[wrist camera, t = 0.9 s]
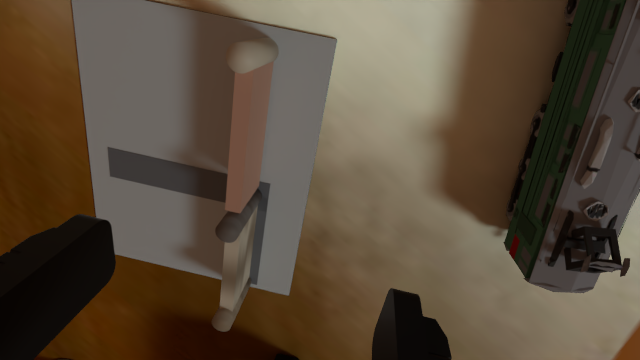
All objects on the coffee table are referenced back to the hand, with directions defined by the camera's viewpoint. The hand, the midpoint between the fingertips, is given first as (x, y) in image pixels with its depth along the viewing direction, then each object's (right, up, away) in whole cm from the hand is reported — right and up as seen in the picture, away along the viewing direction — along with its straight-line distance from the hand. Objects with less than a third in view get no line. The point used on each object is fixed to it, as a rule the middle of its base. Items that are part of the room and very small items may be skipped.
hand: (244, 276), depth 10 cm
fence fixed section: (-5, -3, +25) cm, 25 cm away
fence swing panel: (-3, +8, +19) cm, 21 cm away
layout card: (-9, +4, +22) cm, 25 cm away
